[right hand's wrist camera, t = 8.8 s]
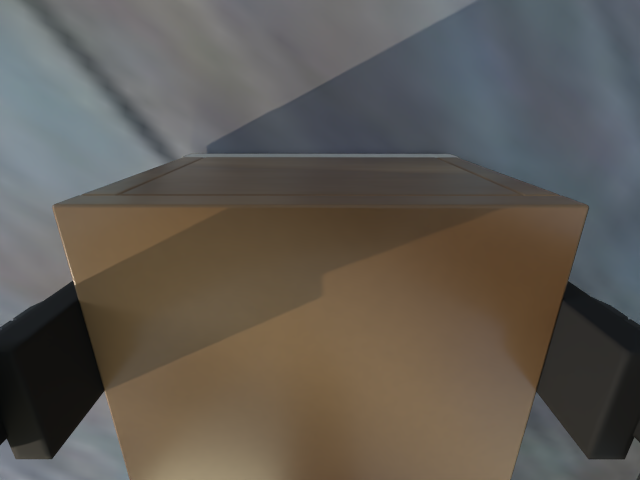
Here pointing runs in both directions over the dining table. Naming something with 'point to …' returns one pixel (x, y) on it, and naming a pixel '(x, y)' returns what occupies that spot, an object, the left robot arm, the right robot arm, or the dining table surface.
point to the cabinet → (320, 313)
